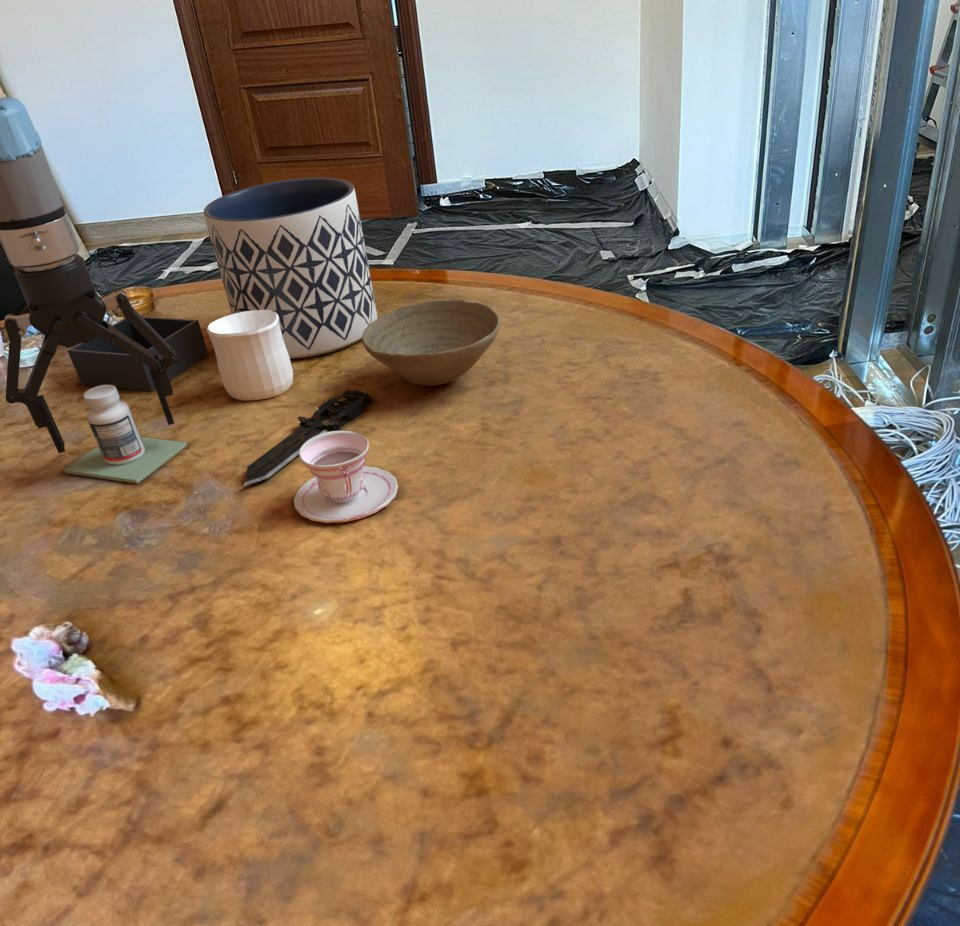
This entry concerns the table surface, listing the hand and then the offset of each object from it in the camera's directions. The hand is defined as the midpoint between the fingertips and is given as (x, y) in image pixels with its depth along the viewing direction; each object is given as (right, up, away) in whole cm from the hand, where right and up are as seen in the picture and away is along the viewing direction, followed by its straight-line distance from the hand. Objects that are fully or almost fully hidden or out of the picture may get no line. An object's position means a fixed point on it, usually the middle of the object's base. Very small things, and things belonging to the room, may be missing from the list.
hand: (116, 434), depth 112 cm
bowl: (+40, +10, +11) cm, 43 cm away
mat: (0, -3, +2) cm, 4 cm away
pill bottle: (0, -2, +2) cm, 3 cm away
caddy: (-6, +16, +26) cm, 31 cm away
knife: (+24, -1, +1) cm, 24 cm away
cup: (+15, +10, +15) cm, 24 cm away
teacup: (+31, -10, -11) cm, 34 cm away
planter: (+19, +23, +30) cm, 43 cm away
